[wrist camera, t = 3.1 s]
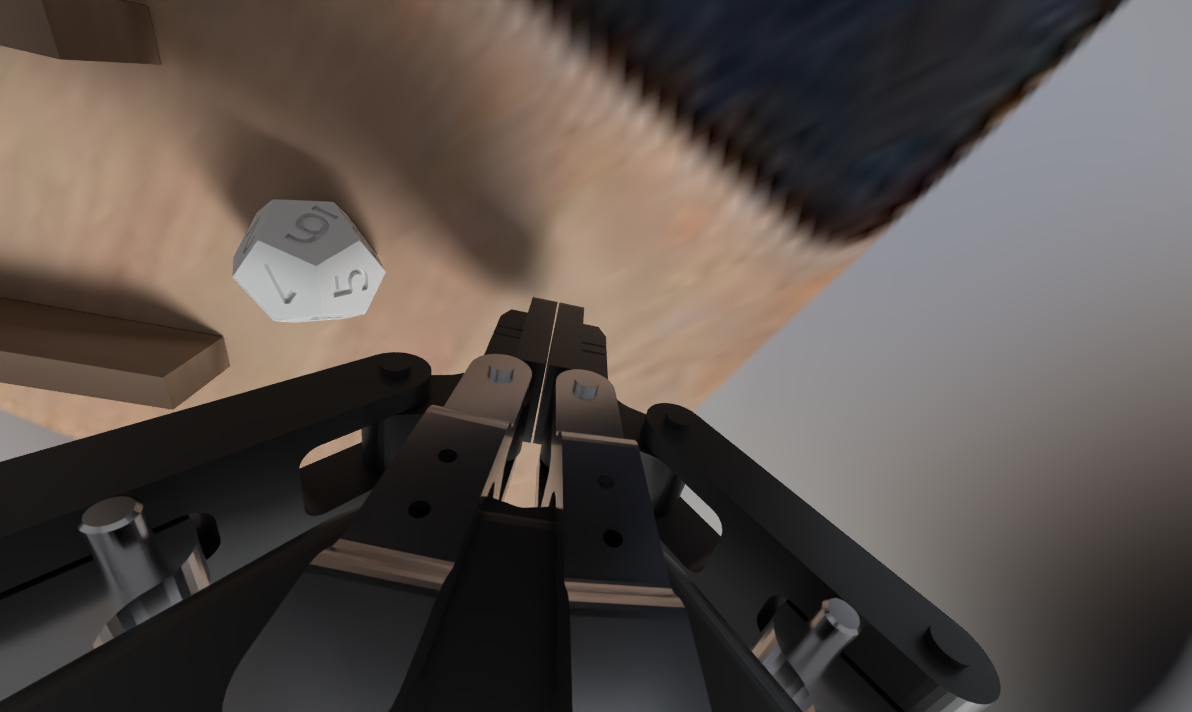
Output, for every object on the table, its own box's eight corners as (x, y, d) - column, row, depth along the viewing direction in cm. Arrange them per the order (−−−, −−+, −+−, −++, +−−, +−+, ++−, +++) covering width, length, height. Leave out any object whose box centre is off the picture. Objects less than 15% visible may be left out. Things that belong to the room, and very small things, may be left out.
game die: (371, 177, 13) (315, 199, 10) (414, 296, 15) (376, 340, 12) (253, 193, 13) (170, 219, 11) (311, 309, 15) (252, 355, 12)
